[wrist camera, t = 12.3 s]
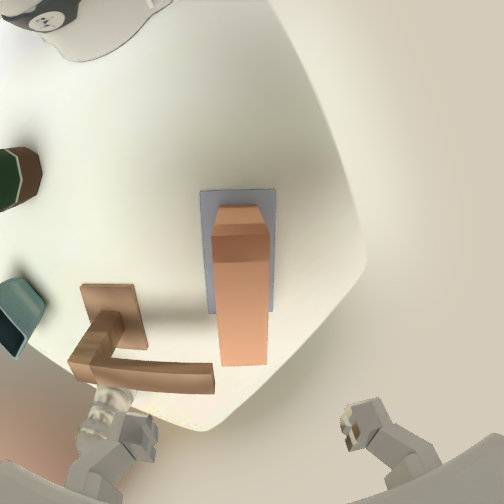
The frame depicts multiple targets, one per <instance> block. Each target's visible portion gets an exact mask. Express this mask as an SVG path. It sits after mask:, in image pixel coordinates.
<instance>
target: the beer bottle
mask: <svg viewBox="0 0 504 504" xmlns="http://www.w3.org/2000/svg"><path fill="white" fill-rule="evenodd" d="M41 177H42V171H41V167H40V163H39V158H38V155H37V154H35V153H33V152H32V151H30V150H28V149H27V148H25V147H16V148H7V149H0V212H3V211H5V210H7V209H10V208H12V207H15V206H17V205H19V204H21V203H24V202H25V201H27V200H28V199H30V198H32V197H33V196H35V195H36V194H37V191H38V187H39V184H40V180H41Z"/></svg>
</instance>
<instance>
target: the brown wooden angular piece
mask: <svg viewBox="0 0 504 504" xmlns="http://www.w3.org/2000/svg"><path fill="white" fill-rule="evenodd" d="M80 291H81V294H82V298H83V301H84V304H85V307H86V311H87V314H88V317H89V320H90V323H91V326H90V327H89V329H88V330H87V331H86V333H85V334H84V336H83V337H82V339H81V340H80V342H79V344H78V345H77V347H76V348H75V350H74V351H73V353H72V354H71V356H70V358H69V359H68V361H67V362H68V364H69V366H70V368H71V370H72V372H73V374H74V376H75V377H76V379H77V381H82V382H87V383H92V384H98V385H104V386H110V387H117V388H124V389H132V390H141V391H151V392H164V393H181V394H215V379H214V372H213V365H212V363H178V362H156V361H141V360H129V359H119V358H111V356H112V354H113V352H114V350H115V348H122V349H135V350H147V348H148V343H147V339H146V336H145V332H144V328H143V324H142V320H141V316H140V312H139V308H138V304H137V299H136V295H135V290H134V285H103V284H82V286H81V287H80Z"/></svg>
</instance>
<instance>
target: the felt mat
mask: <svg viewBox="0 0 504 504" xmlns="http://www.w3.org/2000/svg"><path fill="white" fill-rule="evenodd" d="M250 204H257V206H258V208H259V210H260V213H261V215H262V217H263V219H264V222H265V224H266V226H267V228H268V231H269V233H270V268H269V309H268V312H273V283H274V247H275V190H220V191H200V207H201V225H202V241H203V255H204V268H205V280H206V291H207V302H208V312H209V314H217V313H216V301H215V288H214V275H213V260H212V243H211V234H212V231H213V227H214V223H215V219H216V215H217V212H218V208H219V205H250Z"/></svg>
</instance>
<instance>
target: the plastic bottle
mask: <svg viewBox="0 0 504 504" xmlns="http://www.w3.org/2000/svg"><path fill="white" fill-rule="evenodd" d="M136 394H137V390H132V389H124V388H117V387H110V386H104V385H97V390H96V393H95V396H94V400H93V403H92V405H91V407H90V409H89V411H88V413H87V415H86V417H85V419H84V420H83V422H82V424H81V426H80V427H79V429H78V430H77V433H76V434H75V442H76V446H77V449H78V452H79V455H80V457H81V456H83V455H84V454H85V453H87V452H88V451H89V450H90V449H92V448H93V447H94V446H95V445H97V444H98V443H99V442H100V441H102V440H103V439H107V437H108V433H109V430H110V427H111V423H112V420H113V417H114V414H115V412H116V411H117V410H122V411H128V410H129V407H130V405H131V404H132V402H133V401H134V399H135V396H136ZM78 459H79V458H77V460H78Z"/></svg>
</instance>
